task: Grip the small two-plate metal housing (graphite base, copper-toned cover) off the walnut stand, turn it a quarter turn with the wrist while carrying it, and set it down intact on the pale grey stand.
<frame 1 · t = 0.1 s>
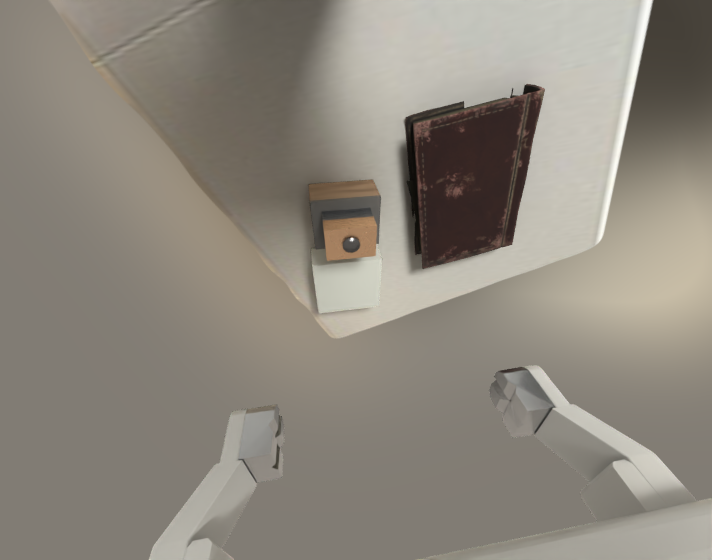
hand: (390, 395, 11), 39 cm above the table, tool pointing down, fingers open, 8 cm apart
walnut stand: (342, 205, 48), on the table
housing: (346, 224, 44), point 6 cm above the table, touching walnut stand
diary: (459, 183, 49), on the table
grey stand: (345, 270, 58), on the table
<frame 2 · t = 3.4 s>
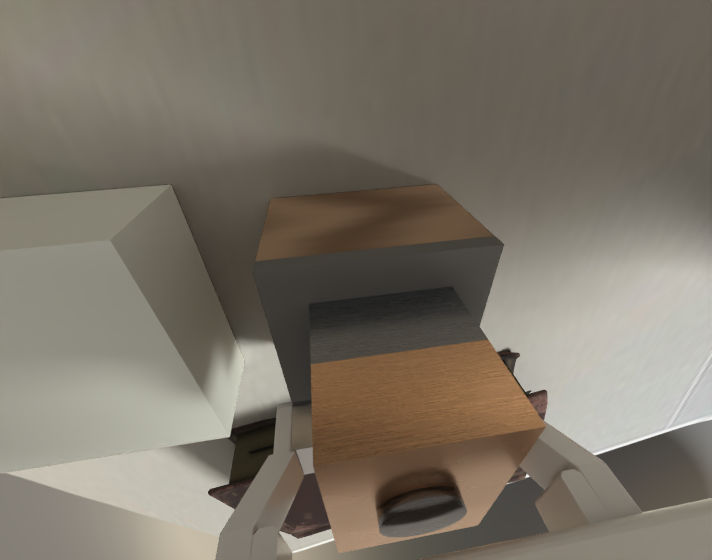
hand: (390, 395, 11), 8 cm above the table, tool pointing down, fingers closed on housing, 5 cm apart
walnut stand: (359, 276, 17), on the table
housing: (381, 359, 12), point 6 cm above the table, touching gripper, walnut stand
diary: (383, 429, 30), on the table
grey stand: (99, 306, 16), on the table
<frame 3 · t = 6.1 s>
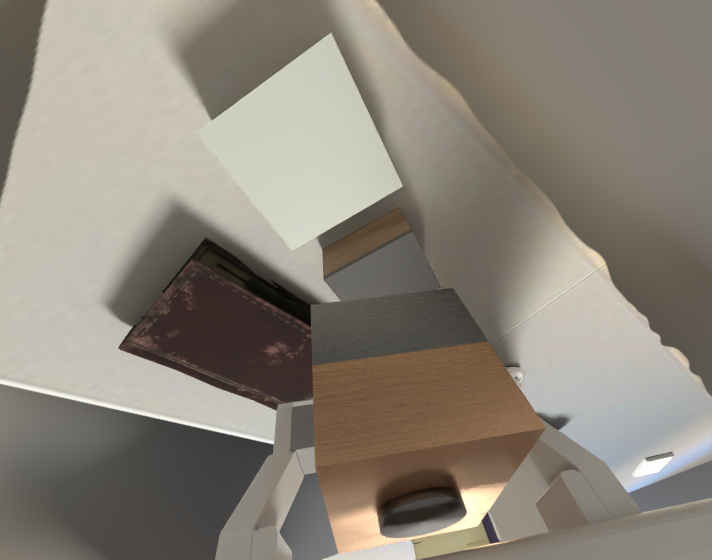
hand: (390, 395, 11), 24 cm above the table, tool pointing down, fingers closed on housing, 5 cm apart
walnut stand: (374, 254, 36), on the table
housing: (381, 361, 12), point 23 cm above the table, touching gripper
book: (466, 528, 113), on the table
diary: (257, 328, 42), on the table
grey stand: (308, 148, 28), on the table
external hard drive: (648, 461, 93), on the table
when the fingers open (8 cm above the table, at t = 8.8 s): housing drops 1 cm, resting on grey stand.
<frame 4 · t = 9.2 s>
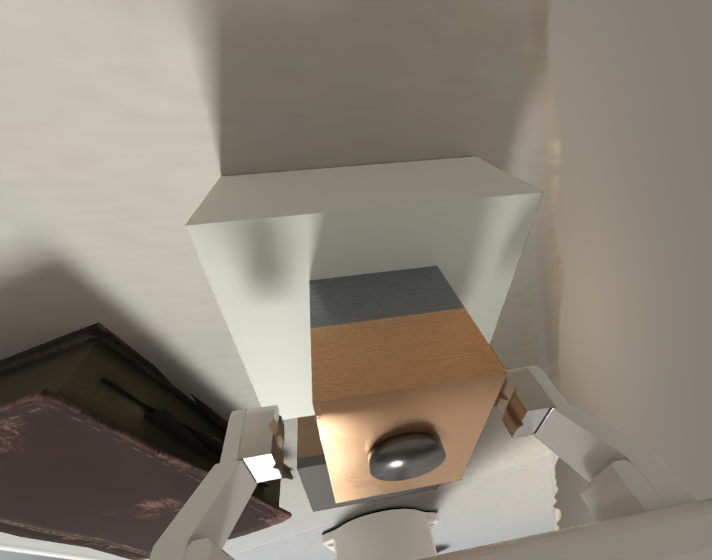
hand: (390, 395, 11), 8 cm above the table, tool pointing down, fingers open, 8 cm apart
walnut stand: (363, 402, 26), on the table
housing: (374, 335, 13), point 5 cm above the table, touching grey stand
diary: (139, 442, 26), on the table
grey stand: (357, 271, 17), on the table
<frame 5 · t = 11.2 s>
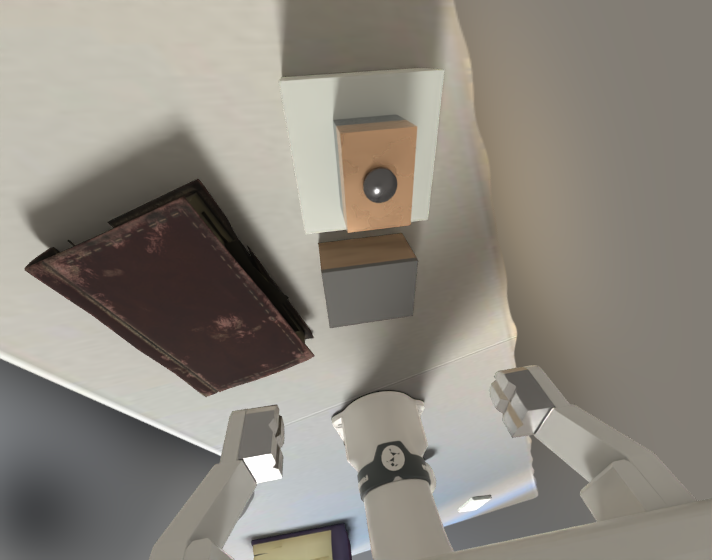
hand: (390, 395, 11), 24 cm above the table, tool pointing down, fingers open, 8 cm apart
walnut stand: (361, 265, 37), on the table
housing: (366, 164, 25), point 5 cm above the table, touching grey stand
book: (305, 545, 114), on the table
diary: (208, 295, 37), on the table
grey stand: (356, 147, 28), on the table
spotlight: (411, 456, 77), on the table
external hard drive: (472, 500, 113), on the table
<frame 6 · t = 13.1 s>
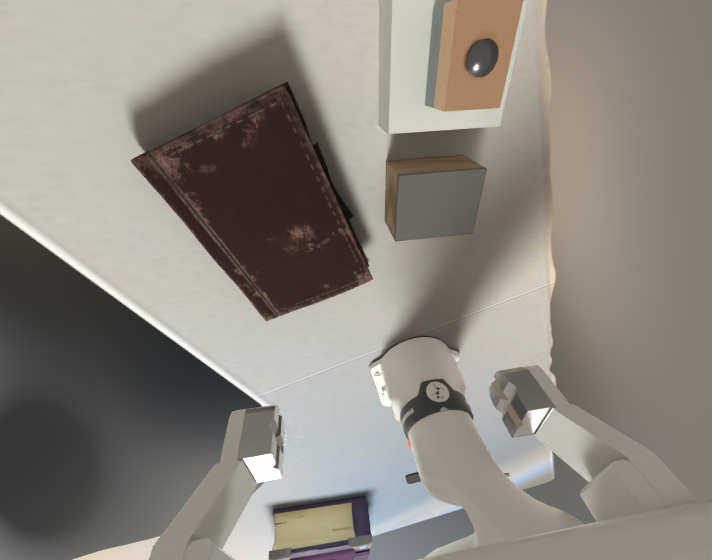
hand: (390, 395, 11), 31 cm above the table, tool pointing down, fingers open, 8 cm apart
walnut stand: (422, 189, 39), on the table
housing: (454, 59, 27), point 5 cm above the table, touching grey stand
book: (321, 521, 113), on the table
diary: (276, 214, 39), on the table
grey stand: (435, 58, 31), on the table
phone: (427, 472, 99), on the table
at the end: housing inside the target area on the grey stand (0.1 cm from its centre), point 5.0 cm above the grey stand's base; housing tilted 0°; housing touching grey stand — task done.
